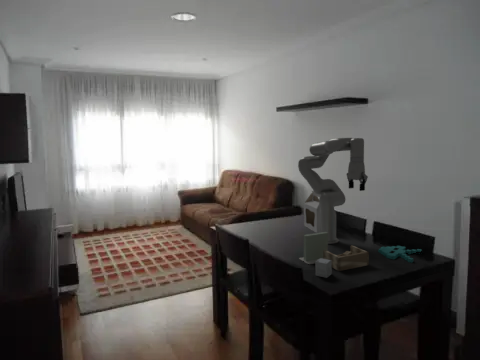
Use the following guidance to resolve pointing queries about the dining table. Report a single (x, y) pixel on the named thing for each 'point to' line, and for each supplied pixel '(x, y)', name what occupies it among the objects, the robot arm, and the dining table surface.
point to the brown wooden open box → (348, 259)
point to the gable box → (312, 213)
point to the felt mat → (308, 261)
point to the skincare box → (323, 267)
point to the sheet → (315, 245)
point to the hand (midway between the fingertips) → (356, 189)
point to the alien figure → (397, 252)
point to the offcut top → (346, 253)
